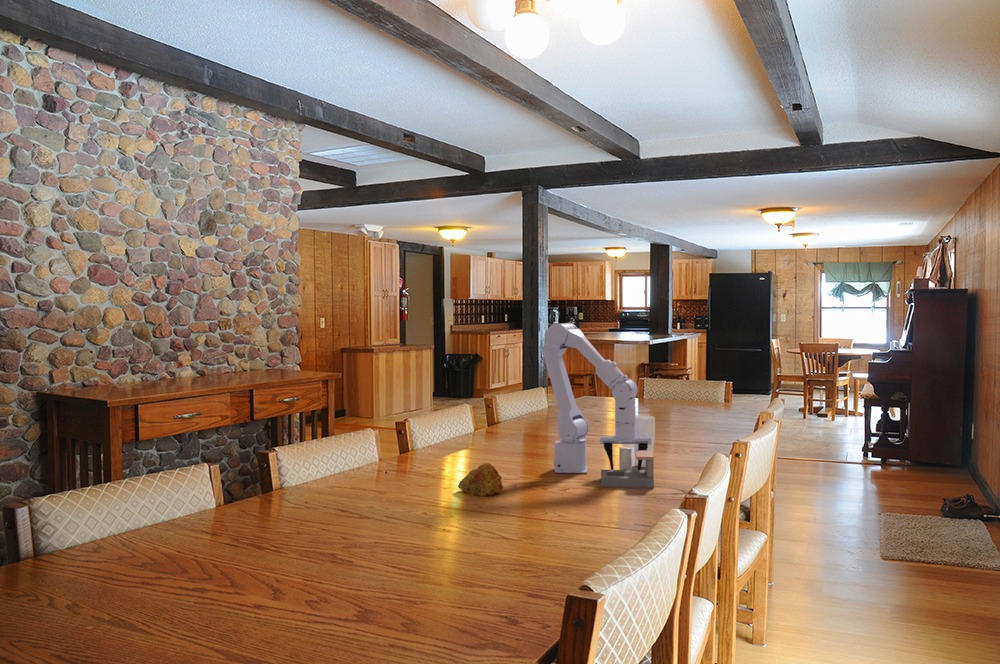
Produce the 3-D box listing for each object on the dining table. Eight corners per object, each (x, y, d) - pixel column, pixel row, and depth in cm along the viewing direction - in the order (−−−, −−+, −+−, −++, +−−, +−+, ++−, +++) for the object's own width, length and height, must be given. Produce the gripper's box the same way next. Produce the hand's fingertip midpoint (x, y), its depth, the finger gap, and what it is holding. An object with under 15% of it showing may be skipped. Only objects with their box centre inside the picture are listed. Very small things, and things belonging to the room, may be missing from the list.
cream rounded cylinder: (653, 463, 224) (653, 415, 224) (656, 468, 218) (656, 418, 217) (631, 463, 225) (631, 415, 224) (633, 468, 218) (633, 418, 218)
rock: (469, 512, 189) (449, 480, 193) (486, 509, 196) (466, 479, 200) (498, 485, 185) (477, 454, 189) (514, 483, 192) (494, 453, 197)
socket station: (601, 486, 196) (600, 456, 196) (601, 478, 206) (600, 449, 206) (653, 488, 194) (653, 457, 194) (651, 479, 204) (651, 449, 204)
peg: (619, 477, 207) (619, 449, 206) (619, 474, 210) (619, 447, 210) (631, 477, 206) (631, 449, 206) (631, 475, 210) (631, 447, 209)
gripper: (599, 424, 205) (600, 471, 205) (652, 424, 203) (652, 472, 203) (599, 420, 212) (600, 466, 212) (650, 420, 210) (650, 467, 210)
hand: (625, 469), depth 208 cm, fingers open, 7 cm apart
